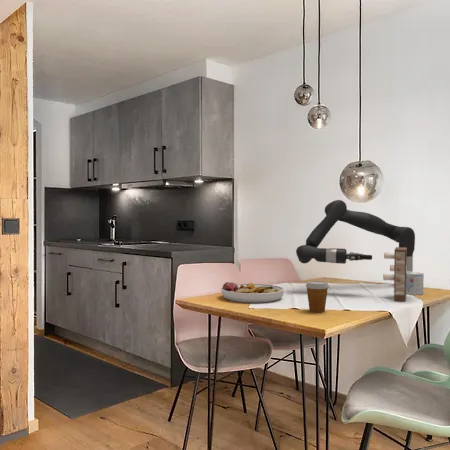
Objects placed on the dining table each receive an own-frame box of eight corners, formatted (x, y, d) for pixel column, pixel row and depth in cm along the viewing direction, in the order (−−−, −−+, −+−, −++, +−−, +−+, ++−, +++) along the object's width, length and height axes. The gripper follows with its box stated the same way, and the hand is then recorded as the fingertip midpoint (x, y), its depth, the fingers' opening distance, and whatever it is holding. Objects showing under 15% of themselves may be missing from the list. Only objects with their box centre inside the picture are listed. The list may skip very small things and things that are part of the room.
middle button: (390, 270, 230) (390, 264, 230) (406, 271, 228) (406, 265, 228) (389, 271, 228) (389, 265, 227) (406, 272, 225) (406, 265, 225)
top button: (384, 258, 241) (384, 252, 241) (400, 258, 238) (400, 252, 238) (384, 258, 238) (384, 252, 238) (399, 259, 235) (399, 253, 235)
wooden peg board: (395, 295, 241) (395, 247, 240) (406, 296, 239) (406, 247, 238) (394, 301, 225) (394, 249, 224) (405, 302, 223) (406, 250, 223)
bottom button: (383, 279, 236) (383, 273, 236) (399, 280, 234) (399, 274, 234) (383, 280, 233) (383, 274, 233) (399, 281, 231) (399, 274, 231)
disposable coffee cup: (312, 307, 210) (312, 280, 209) (332, 310, 204) (332, 282, 203) (301, 311, 202) (301, 282, 202) (321, 314, 196) (321, 284, 196)
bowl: (280, 293, 248) (280, 278, 248) (287, 304, 218) (287, 287, 218) (222, 293, 249) (222, 278, 249) (220, 304, 219) (220, 287, 219)
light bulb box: (398, 292, 251) (398, 271, 250) (407, 291, 254) (407, 270, 253) (414, 295, 241) (414, 273, 241) (423, 294, 244) (424, 273, 244)
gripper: (334, 249, 238) (371, 250, 231) (338, 247, 250) (373, 249, 244) (333, 264, 238) (370, 266, 231) (338, 262, 250) (373, 263, 244)
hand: (372, 257), depth 238 cm, fingers closed
